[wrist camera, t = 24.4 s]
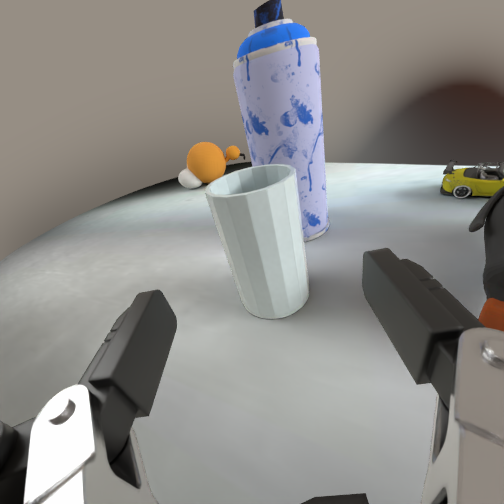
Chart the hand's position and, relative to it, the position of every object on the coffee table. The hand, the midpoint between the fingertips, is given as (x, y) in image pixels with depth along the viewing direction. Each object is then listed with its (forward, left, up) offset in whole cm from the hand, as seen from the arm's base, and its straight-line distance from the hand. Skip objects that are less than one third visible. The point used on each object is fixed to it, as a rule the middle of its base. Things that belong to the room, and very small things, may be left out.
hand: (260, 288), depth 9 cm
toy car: (+31, -3, -8) cm, 32 cm away
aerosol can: (+15, +12, -8) cm, 21 cm away
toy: (+23, +44, -8) cm, 51 cm away
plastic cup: (+5, +6, -8) cm, 11 cm away
